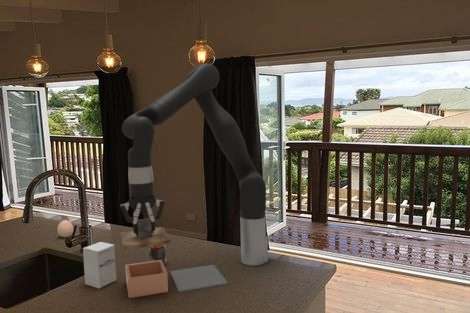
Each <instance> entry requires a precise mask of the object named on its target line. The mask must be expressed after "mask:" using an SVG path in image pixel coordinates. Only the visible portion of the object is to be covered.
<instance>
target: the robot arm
mask: <svg viewBox="0 0 470 313" xmlns="http://www.w3.org/2000/svg"><path fill="white" fill-rule="evenodd" d="M219 82H220V72H219V70H218V69H217V67H216V66H215V65H213V64H212V63H202V64H200V65H198V66H196V67H195V68H193V69H192V70H191V71H189V72H188V73H187V76H186V79H185V81H184V82H182V83H180V84H179V85H177V86H176V87H174V88H173V89H171V90H169V91H168V92H167V93H165V94H163V95H162V96H160V97H159V98H157V99H156V100H155V101H153V102H152V103H150V105H148V106H146V107H144V108H142V109H140V110H138V111H137V112H135V113H132V114H131V115H129V116H128V117H127V118H125V120H124V121H123V123H122V126H121V131H122V133H123V135H124V136H125V137H126V138H128V139H131V140H133V145H132V147H131V148H129V149H128V151H127V162H128V171H127V172H128V179H127V180H128V188H129V199H128V201H127V202H125V203H121V204H120V209H121V211H122V213H123V216H124V218H125V221H126V223H128V224H129V223H131V224H132V231H134V234H136V235H138V224H137V220H139V216H140V214H142V213H147V214H148V217H149V219H150V221H151V231H152V233H153V231H155V228H156V221H157V220H160V219H161V217H162V213H163V209H164V206H165V201H164V200H163V199H157V198H156V197H155V184H154V172H153V164H152V150H153V149H152V148H153V144H154V138H155V128H154V127H155V126H160V125H162V124H164V123H165V122H166V121H168V120H169V119H170V118H171V117H173V116H174V115H176V114H177V113H178V112H179V111H180V110H181V109H183V107H184V106H186V105H187V104H189V103H190V102H191V101H192V100H195V102H196V103H197V105H198V107H199V108H200V110H201V112H202V113H203V115H204V118H205V120H206V121H207V124H208V125H209V127H210V130H211V131H212V134H213V135H214V139H215V141H216V143H217V145H218V146H219V148H220V149H221V150H220V151H221V152H222V153H223V155H224V156H225V158H226V159H227V160H228V162H229V164H230V165H231V167H232V169H233V172H234V174H235V176H236V179H237V182H238V184H239V185H238V186H239V191H240V192H239V193H240V194H239V196H240V197H239V198H240V199H239V201H240V208H239V209H240V210H239V213H240V214H239V215H240V217H239V218H240V221H239V222H240V224H239V225H240V262H241V263H242V264H243V265H245V266H261V265H264V264H266V263H268V262H269V252H268V248H269V246H268V245H269V244H268V241H269V238H268V236H267V235H266V234H267V233H266V210H267V185H266V182H265V180H264V179H263V177H262V175H261V174H260V173H259V171H258V170H257V167H255V165H254V162H253V161H252V158H251V157H250V154H249V150H248V148H247V145H246V142H245V139H244V137H243V135H242V132H241V129H240V128H239V125H238V123H237V121H236V120H235V119H234V117H233V116H232V115H231V114H230V113H229V112H228V111H227V110H225V109H224V108H223V107H222V106H221V105H220V104H219V102H218V101H217V99H216V98H215V95H214V93H213V91H212V90H213V89H215V88H216V87H217V86H218V84H219ZM155 204H156V207H157V209H156V212H155V214H154V213H153V210H152V209H153V208H154V205H155ZM129 207H130V208H132V210H133V214H132V215H133V216H132V217H130V215H129V213H128V211H129Z"/></svg>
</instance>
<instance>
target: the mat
mask: <svg viewBox="0 0 470 313" xmlns="http://www.w3.org/2000/svg"><path fill="white" fill-rule="evenodd" d="M169 273H170V275H171V278H172V280H173V283H174V285H175V287H176V289H177V292H178V293H180V294H181V293H187V292H191V291H192V292H193V291H198V290H204V289H209V288H214V287H215V288H216V287H220V286H227V285H228V281H227V280H226V279H225V277H224V276H223V274H221V271H220V270H219V269H218V268H217V267H216V266H215V264H209V265H202V266H196V267H195V266H194V267H189V268H183V269H176V270H170V271H169Z"/></svg>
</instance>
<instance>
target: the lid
mask: <svg viewBox="0 0 470 313" xmlns="http://www.w3.org/2000/svg"><path fill="white" fill-rule="evenodd" d="M137 224H138V235H136V234H134V231H133V230H130V231H123V232H122V231H121V232H120V238H121V239H120V240H121V244H122V250H123V251H126V250H128V251H129V250H134V249H141V248H147V247H148V248H149V246H156V245H163V244H165V245H169V244H171V238H170V237H169V234H168V233H167V231H166V230H165V227H164V226H163V227H162V226H161V227H155V231H153V233H152V231H151V221H150V217H149V218H143V219H142V218H141V219H138V220H137Z"/></svg>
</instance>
